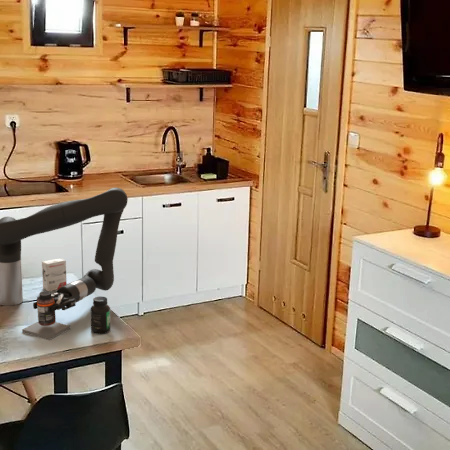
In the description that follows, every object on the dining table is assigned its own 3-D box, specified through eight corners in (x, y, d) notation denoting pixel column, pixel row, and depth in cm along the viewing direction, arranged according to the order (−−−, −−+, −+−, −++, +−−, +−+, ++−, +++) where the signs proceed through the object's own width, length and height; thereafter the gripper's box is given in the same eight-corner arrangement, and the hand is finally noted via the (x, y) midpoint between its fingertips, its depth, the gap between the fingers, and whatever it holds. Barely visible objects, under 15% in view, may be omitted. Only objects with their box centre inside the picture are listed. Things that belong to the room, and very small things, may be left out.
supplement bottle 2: (113, 332, 249) (113, 300, 246) (95, 336, 245) (95, 303, 242) (105, 325, 255) (105, 294, 252) (87, 329, 251) (87, 297, 248)
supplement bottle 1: (48, 318, 252) (47, 288, 249) (59, 322, 248) (57, 292, 245) (34, 323, 247) (33, 293, 244) (45, 328, 244) (43, 297, 241)
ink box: (61, 284, 294) (60, 257, 291) (67, 287, 291) (66, 260, 288) (42, 288, 289) (41, 260, 286) (47, 291, 285) (46, 264, 282)
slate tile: (22, 332, 246) (22, 329, 246) (43, 321, 256) (43, 318, 255) (49, 339, 241) (49, 336, 241) (70, 328, 251) (70, 325, 250)
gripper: (56, 279, 260) (24, 294, 246) (88, 286, 254) (57, 301, 240) (57, 298, 262) (25, 314, 248) (88, 306, 256) (58, 322, 242)
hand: (41, 308), depth 244 cm, fingers closed on supplement bottle 1, 6 cm apart
